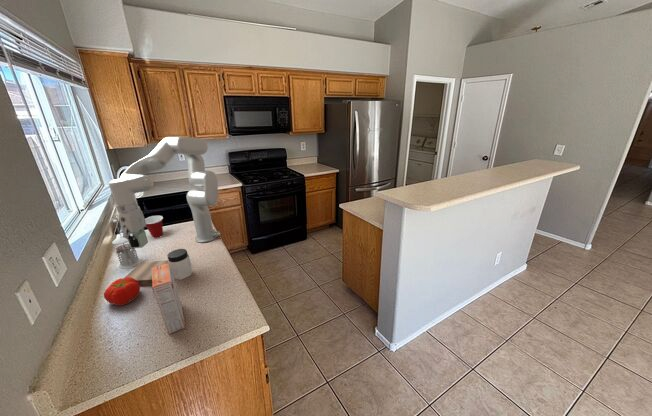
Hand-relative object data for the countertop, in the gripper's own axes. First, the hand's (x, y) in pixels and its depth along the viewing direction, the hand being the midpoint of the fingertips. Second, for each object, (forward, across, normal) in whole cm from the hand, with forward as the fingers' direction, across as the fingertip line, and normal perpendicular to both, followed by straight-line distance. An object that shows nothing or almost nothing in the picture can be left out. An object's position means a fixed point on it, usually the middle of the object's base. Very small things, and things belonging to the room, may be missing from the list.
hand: (139, 243), depth 120 cm
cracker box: (+18, -31, -26) cm, 44 cm away
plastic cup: (+18, +44, +19) cm, 51 cm away
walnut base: (+18, 0, 0) cm, 18 cm away
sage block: (+1, 0, 0) cm, 1 cm away
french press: (+18, +12, +16) cm, 27 cm away
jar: (+18, -1, -16) cm, 24 cm away
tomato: (+18, -17, +1) cm, 25 cm away
